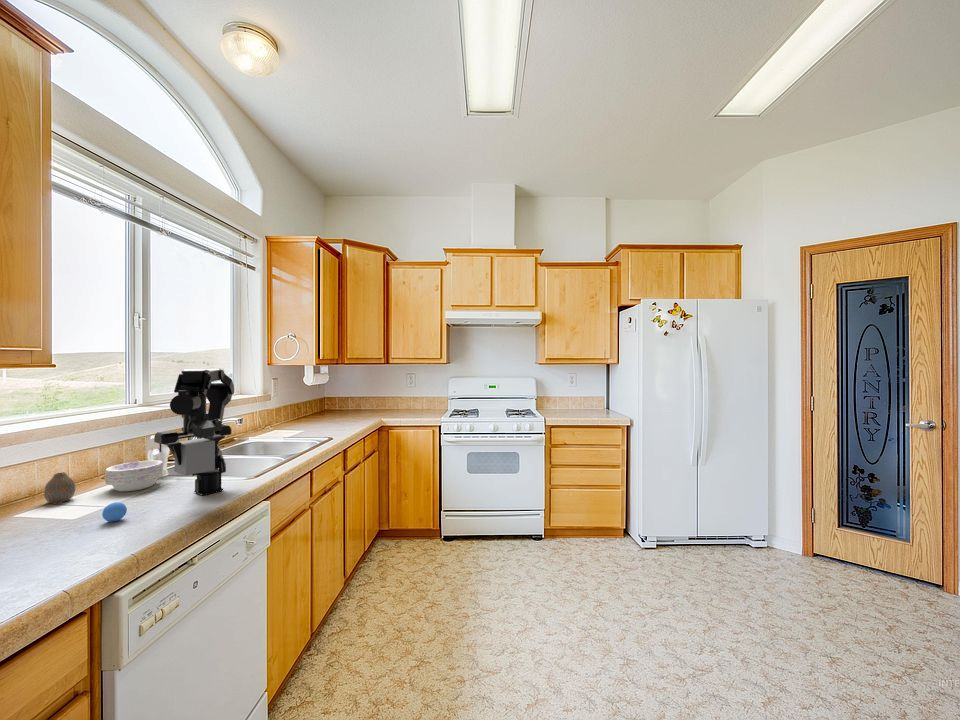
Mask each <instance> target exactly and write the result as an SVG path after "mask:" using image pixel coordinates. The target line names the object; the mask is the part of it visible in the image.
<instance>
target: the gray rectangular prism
mask: <svg viewBox="0 0 960 720" xmlns="http://www.w3.org/2000/svg"><path fill="white" fill-rule="evenodd" d="M179 442H180V443H182V444H181V447H180V450H181V465H178V464H177V462H176V460H175V459H174V472H175V473H178V474H181V475H183V476H192V474H196V473H201V472H206V471H210V470H215V441H213V440H209V439H205V438H194V439H188V440H181V441H180V440H179Z"/></svg>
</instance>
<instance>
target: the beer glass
mask: <svg viewBox="0 0 960 720" xmlns="http://www.w3.org/2000/svg"><path fill="white" fill-rule="evenodd" d="M154 436H155V435H150V436H148V437H146V458H147V461H150V460H157V461H162V462H163V476H161V477H159V478H164V477H168V476H169V471H168V460H169V456H170V452H171V451H170V449H169V448H168V446H167V445H164V444H159V443H156V442H154ZM159 478H158V479H159Z"/></svg>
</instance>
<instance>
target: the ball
mask: <svg viewBox="0 0 960 720" xmlns="http://www.w3.org/2000/svg"><path fill="white" fill-rule="evenodd" d="M127 509H128V508H127V506H126V504H124V503H123V502H119V501H118V502H117V501H116V502H112V503H109V504H107V505H106V506H104V508H103V511H102V514H101V516H102V518H103V519H104V520H105V521H106V522H110V523H111V522H117V521H120V520H121V519H123V518H124V517H125V516H126V514H127V511H128V510H127Z"/></svg>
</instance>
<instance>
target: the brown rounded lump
mask: <svg viewBox="0 0 960 720" xmlns="http://www.w3.org/2000/svg"><path fill="white" fill-rule="evenodd" d="M75 493H76V483H75V481H74V479H72V478H71V477H70V476H69V475H68V474H67V473H66V472H56V473H54V474H53V476H52V477H51V478H50V479H49V480H48V482H46V484H45V487H44V489H43V497H44V499H45V501H46V502H47V503H49V504H52V503H56V504H61V503H60V502H62V503H65V502H64V501H66V502H69V500H71V499H72V498H73V497H74V495H75Z"/></svg>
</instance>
